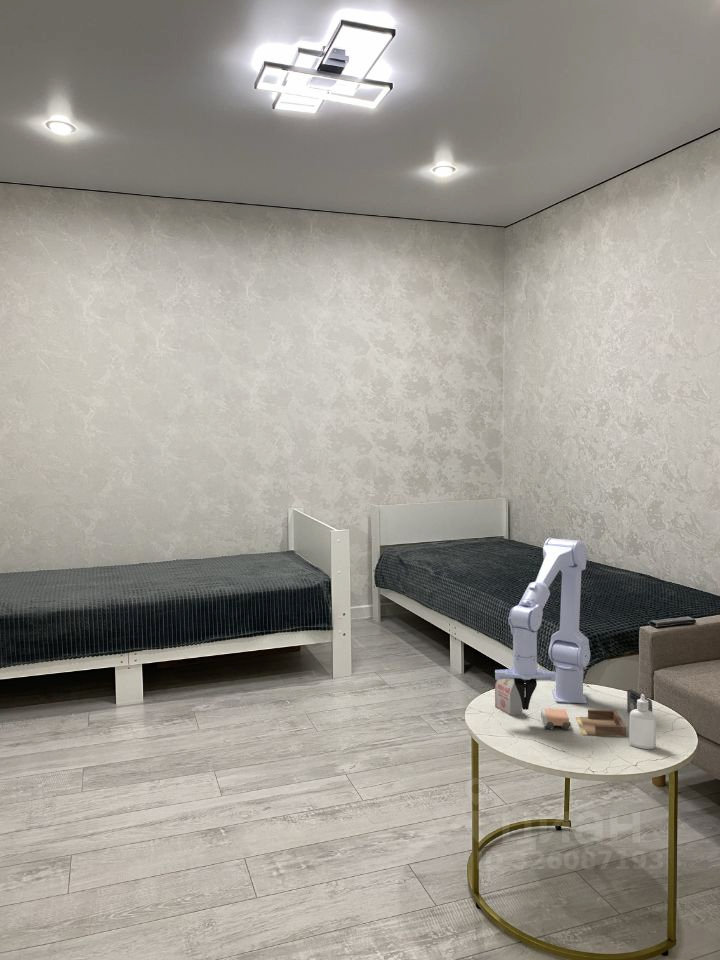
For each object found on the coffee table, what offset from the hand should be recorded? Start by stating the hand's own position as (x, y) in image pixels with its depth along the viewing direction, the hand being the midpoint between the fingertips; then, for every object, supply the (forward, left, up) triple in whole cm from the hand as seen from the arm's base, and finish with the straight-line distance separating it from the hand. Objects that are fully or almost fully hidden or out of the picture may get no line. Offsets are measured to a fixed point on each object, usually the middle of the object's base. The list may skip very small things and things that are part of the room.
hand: (525, 708), depth 185 cm
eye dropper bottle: (+10, +26, -4) cm, 28 cm away
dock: (0, +19, -4) cm, 19 cm away
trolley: (0, +8, -4) cm, 9 cm away
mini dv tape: (-7, +29, -5) cm, 30 cm away
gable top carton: (-10, -3, -4) cm, 11 cm away
